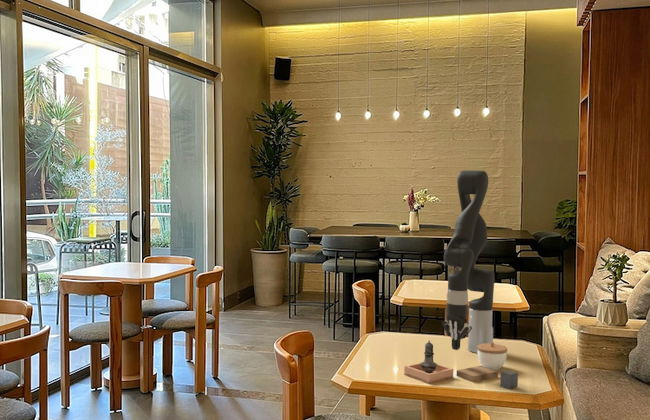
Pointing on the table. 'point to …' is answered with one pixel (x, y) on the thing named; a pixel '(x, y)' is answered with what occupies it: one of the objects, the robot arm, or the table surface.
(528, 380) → the table surface
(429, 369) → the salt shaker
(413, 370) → the tray
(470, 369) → the bronze block
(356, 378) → the table surface
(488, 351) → the lidded jar
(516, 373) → the dark gray block
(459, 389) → the table surface
